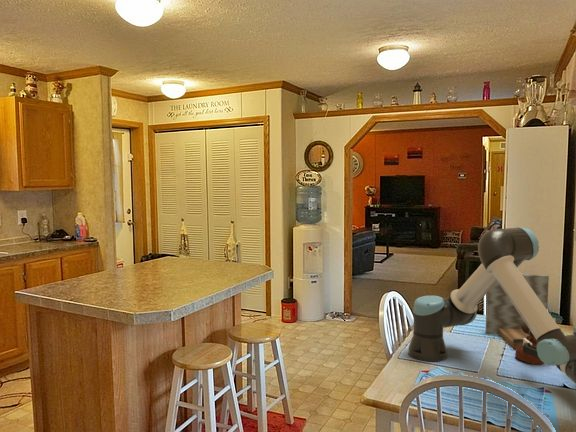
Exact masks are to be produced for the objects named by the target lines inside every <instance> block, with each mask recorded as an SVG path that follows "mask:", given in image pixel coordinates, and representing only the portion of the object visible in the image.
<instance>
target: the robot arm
mask: <svg viewBox="0 0 576 432" xmlns="http://www.w3.org/2000/svg"><path fill="white" fill-rule="evenodd" d="M539 245H540V244H539V239H538V236H537V235H536V234H535V233H534V232H533V230H531V229H529V228H526V227H519V226H518V227H509V228H507V227H506V228H492V229H490V230H487V231H486V232H485V233H484V234H483V235H482V236H481V238H480V239H479V241H478V245H477V253H478V257H479V259H480V265H479V266H478V267H477V269H476V270H474V272H473V273H472V274H471V275H470V276H469V277H468V279H467V280H465V282H464V283H463V284H462V286H461V287H460V288H459V289H458V288H457V289H453V290H452V291H451V292H450V293H449V295H448V296H447V297H445V298H444V297H442V296H438V295H434V294H433V295H423V296H420V297H418V298H416V299H415V301H414V303H413V308H412V309H413V310H412V313H413V322H412V323H413V325H412V326H413V328H412V329H413V330H412V331H413V333H412V338H411V339H410V340H411V341H410V342H409V345H408V355H409V356H410V357H411V358H414V359H415V360H421V361H426V362H441V361H444V360H446V359H447V358H448V349H447V345H446V343H445V340H444V329H445V328H446V329H447V328H452V327H459V326H465V325H469V324H471V323H472V322H474V320H475V319H476V317H477V315H478V314H477V312H478V303H479V302H480V301H481V300H482V299H483V298H484V297H485V296H487V293H488V292H489V291H490V289H491V288H492V287H493V286H494V285H495V284H496V283H497V282H498V283H499V284H500V286H501V287H502V289H503V290H504V292H505V293H506V295H507V296H508V298H509V299H510V301H511V302H512V304H513V305H514V307H515V308H516V310H517V311H518V313H519V314H520V316H521V317H522V319H523V320H524V322H525V323H526V325H527V326H528V328H529V329H530V331H531V332H532V334H533V335H534V337H535V338H536V340H537V341H538V345H537V347H536V346H533V345H532V343H530V342H529V341H528V340H527V339H526V338H523V352H524V353H526V354H528V355H531V356H533V357H536V358H538V359H540V360H541V361H542V362H544V364H545V365H547V366H551V367H552V366H555V367H556V368H557V369H558V370H559V371H560V372H561V373H563V374H564V375H565V376H566V377H567V378H569V379H570V380H571V381H572V382H573V383H574V384H575V385H576V325H574V327H573V331H572V333H573V334H568V335H565V333H564V331H562V329H561V328H560V326H559V324H557V322H556V320H555V319H554V318H553V316H552V315H551V314H550V312H549V311H548V308H547V309H546V308H545V307H544V305H543V304H542V302H541V301H540V299H539V298H538V297H537V295H536V294H535V292H534V291H533V290H532V288H531V287H530V285H529V284H528V282H527V281H526V280H525V278H524V277H523V275H522V274H523V273H521V271H520V270H519V268H518V267H520V265H521V264H522V263H523V262H524V261H530V260H533V259H534V258H535V257H537V255H538V253H539V250H540V246H539Z"/></svg>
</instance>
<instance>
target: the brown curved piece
mask: <svg viewBox="0 0 576 432" xmlns="http://www.w3.org/2000/svg"><path fill="white" fill-rule="evenodd" d="M521 329H522V331H523V332H524V333H526V334H528V336H527V338H526V339H527V340H528V341H529V342H530V343H532V345H533V346H535V345H536V344H537V341H536V338H535V337H534V335H533V334H532V332H531V331H530V329H529V328H528V326H527V325H526V323H525V322H523V323H522V325H521ZM514 356H515V358H517V359H518V360H520V361H522V362H524V363H527V364H531V365H532V364H533V365H544V364H545V363H544V362H542V361H541V360H540V359H538V358H536V357H533V356H531V355H528V354H526V353H524V352H523V345H520V346H518V347H516V350H515V355H514ZM543 363H544V364H543Z"/></svg>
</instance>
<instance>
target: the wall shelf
mask: <svg viewBox="0 0 576 432" xmlns="http://www.w3.org/2000/svg"><path fill="white" fill-rule="evenodd" d="M521 274H522V275H523V277H524V278H525V280H526V281H527V282H528V284H529V285H530V287H531V288H532V290H533V291H534V292H535V294H536V295H537V297H538V298H539V299H540V301H541V302H542V304H543V305H544V307H545V308H546V309H547V310H548V303H549V302H548V299H549V281H550V277H549V275H548V274H523V273H521ZM485 310H486V312H485V334H486V335H496V336H497V335H498V336H499V337H500V338H501V339H502V340H503V341H504V342H505V343H506V344H507V345H508V346H509V347H510V348H511V349H512V348H513V349H512V350H513V351H516V347H518V346H520V345H523V338H527V336H528V334H526V333H524V332H523V331H522V329H521V325H522V323H523V322H524V320H523V319H522V317H521V316H520V314H519V313H518V311H517V310H516V308H515V307H514V305H513V304H512V302H511V301H510V299H509V298H508V296H507V295H506V293H505V292H504V290H503V289H502V287H501V286H500V284H499V283H498V282H497V283H496V284H495V285H494V286H493V287H492V288H491V289H490V291H489V292H488V293H487V294H486V306H485ZM536 341H537V340H536ZM537 345H538V341H537V344H536V345H535V346H536V347H537Z"/></svg>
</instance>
